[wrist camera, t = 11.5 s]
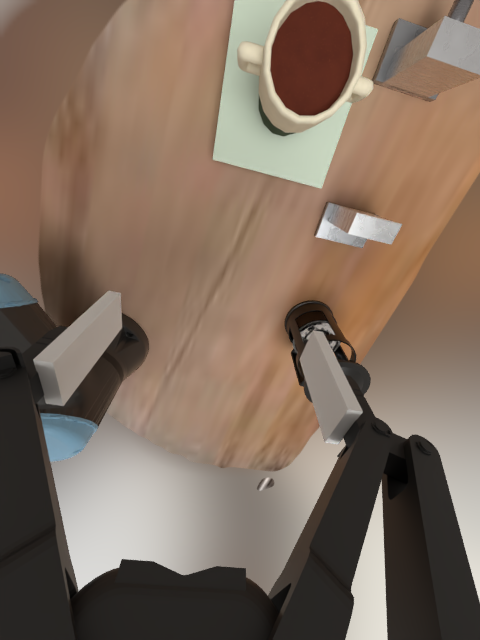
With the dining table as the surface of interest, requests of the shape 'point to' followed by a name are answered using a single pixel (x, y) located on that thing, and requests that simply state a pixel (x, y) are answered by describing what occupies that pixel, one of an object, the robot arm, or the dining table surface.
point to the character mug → (308, 63)
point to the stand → (245, 120)
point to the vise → (416, 80)
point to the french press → (333, 337)
